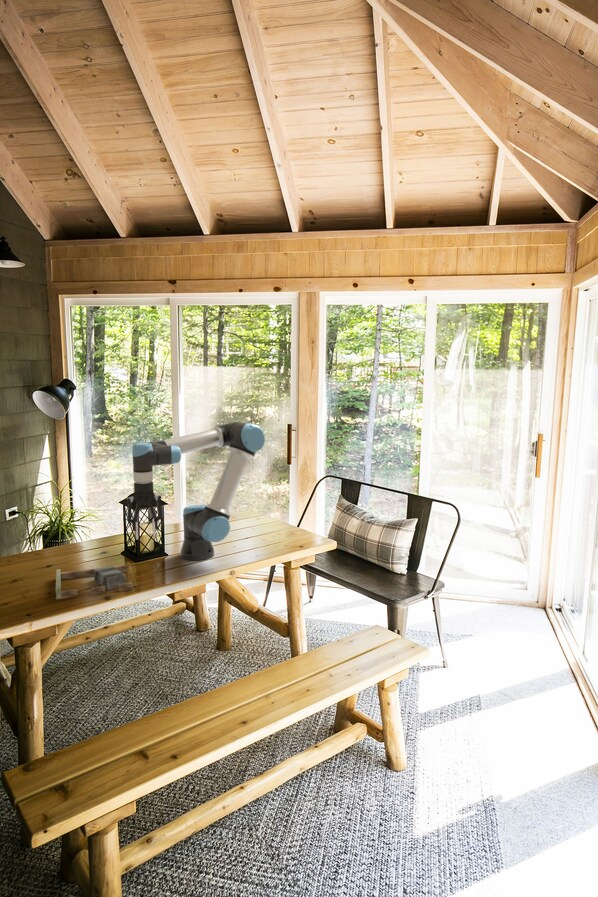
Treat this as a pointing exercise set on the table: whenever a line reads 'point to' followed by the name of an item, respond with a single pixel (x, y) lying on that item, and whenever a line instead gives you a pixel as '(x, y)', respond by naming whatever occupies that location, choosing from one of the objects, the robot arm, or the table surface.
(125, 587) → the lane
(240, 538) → the table surface
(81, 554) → the table surface
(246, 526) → the table surface
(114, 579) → the stone block
